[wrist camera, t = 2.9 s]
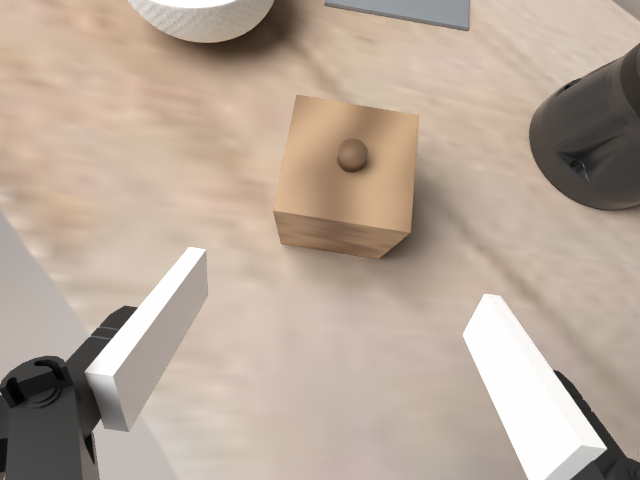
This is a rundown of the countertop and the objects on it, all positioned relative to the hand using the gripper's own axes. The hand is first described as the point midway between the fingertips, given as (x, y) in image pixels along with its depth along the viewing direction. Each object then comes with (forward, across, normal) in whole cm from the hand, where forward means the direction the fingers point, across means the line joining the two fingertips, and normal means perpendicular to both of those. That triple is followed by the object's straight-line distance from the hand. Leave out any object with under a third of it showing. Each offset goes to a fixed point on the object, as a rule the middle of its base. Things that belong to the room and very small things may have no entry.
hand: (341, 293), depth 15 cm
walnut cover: (+17, 0, +3) cm, 18 cm away
